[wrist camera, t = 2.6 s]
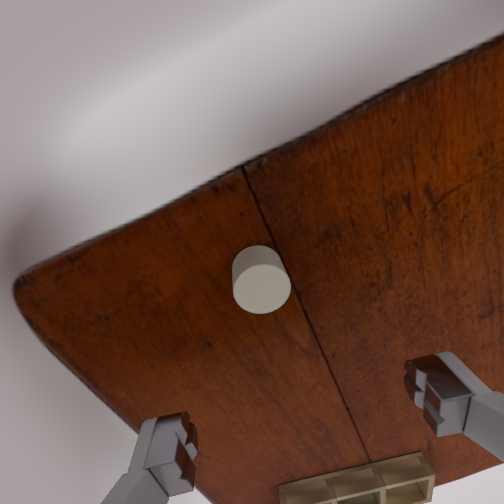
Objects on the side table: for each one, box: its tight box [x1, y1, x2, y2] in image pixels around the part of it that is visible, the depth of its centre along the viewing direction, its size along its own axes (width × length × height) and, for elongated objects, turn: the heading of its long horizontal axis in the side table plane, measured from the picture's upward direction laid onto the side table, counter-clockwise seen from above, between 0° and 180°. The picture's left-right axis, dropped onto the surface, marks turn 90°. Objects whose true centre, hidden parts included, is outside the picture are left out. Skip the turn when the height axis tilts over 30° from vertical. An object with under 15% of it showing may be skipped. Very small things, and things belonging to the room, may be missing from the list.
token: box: [232, 245, 291, 314], centre depth 17 cm, size 4×4×3 cm
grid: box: [278, 452, 435, 504], centre depth 32 cm, size 18×6×2 cm, turn 103°
